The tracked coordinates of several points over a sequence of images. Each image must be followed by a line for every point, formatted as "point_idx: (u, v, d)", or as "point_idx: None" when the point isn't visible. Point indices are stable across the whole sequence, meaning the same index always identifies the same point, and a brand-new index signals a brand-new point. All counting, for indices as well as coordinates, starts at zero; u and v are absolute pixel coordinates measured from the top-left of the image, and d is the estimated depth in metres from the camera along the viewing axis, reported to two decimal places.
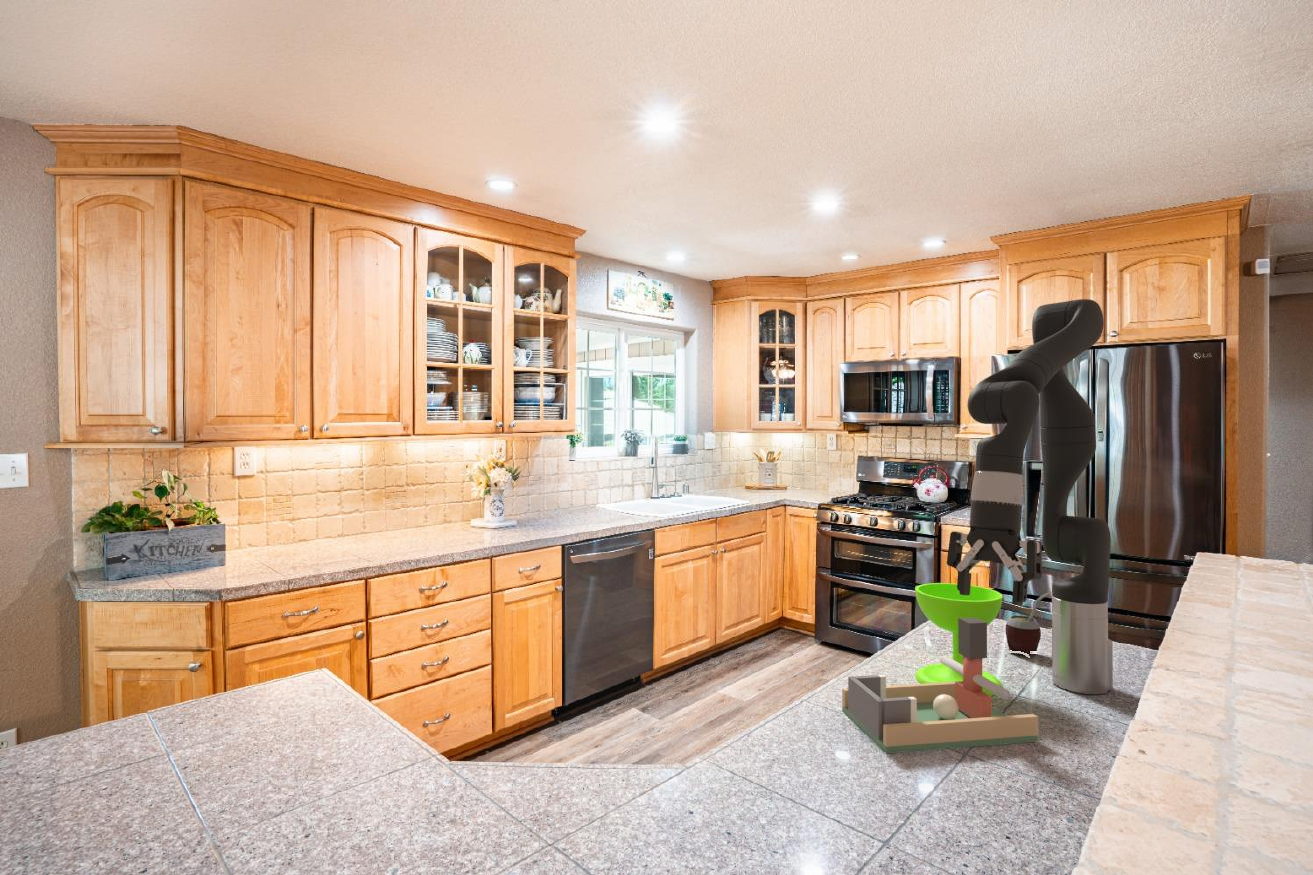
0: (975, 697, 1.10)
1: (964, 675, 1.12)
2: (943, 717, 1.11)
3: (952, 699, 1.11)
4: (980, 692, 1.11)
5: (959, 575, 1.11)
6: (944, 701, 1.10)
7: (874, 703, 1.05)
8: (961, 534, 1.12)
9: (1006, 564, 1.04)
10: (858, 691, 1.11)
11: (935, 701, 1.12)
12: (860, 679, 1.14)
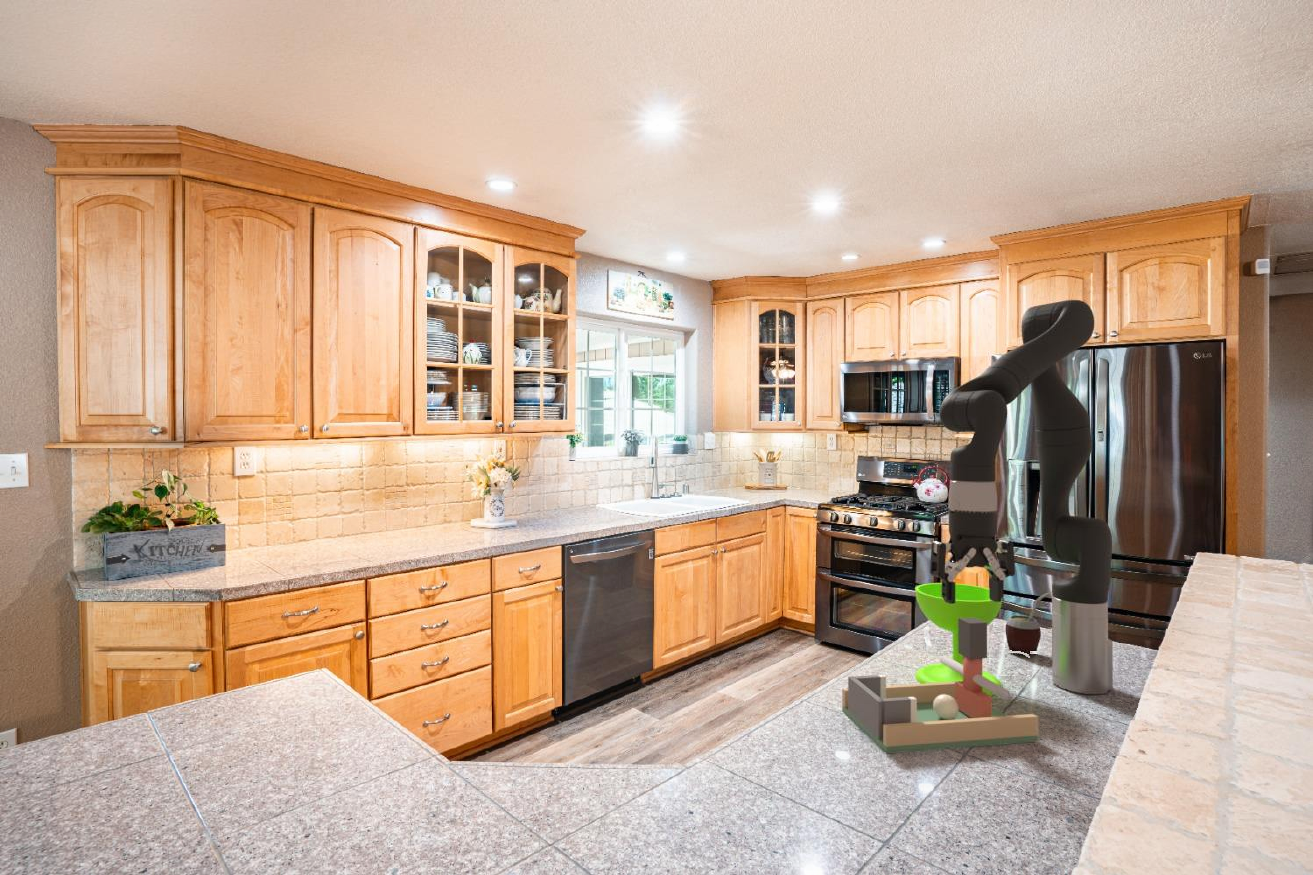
0: (975, 697, 1.10)
1: (964, 675, 1.12)
2: (943, 717, 1.11)
3: (952, 699, 1.11)
4: (980, 692, 1.11)
5: (947, 585, 1.11)
6: (944, 701, 1.10)
7: (874, 703, 1.05)
8: None
9: (994, 567, 1.11)
10: (858, 691, 1.11)
11: (935, 701, 1.12)
12: (860, 679, 1.14)
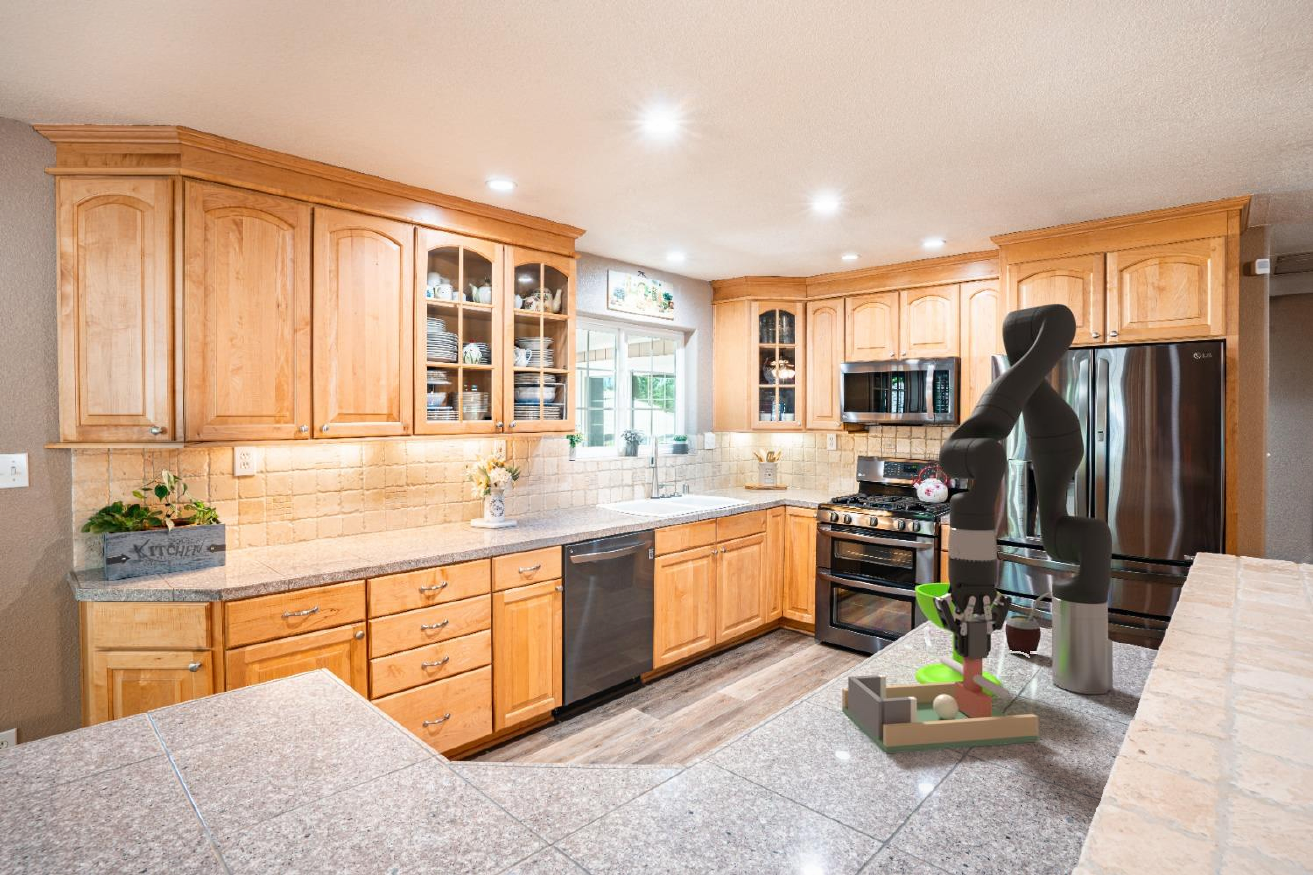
0: (975, 697, 1.10)
1: (964, 675, 1.12)
2: (943, 717, 1.11)
3: (952, 699, 1.11)
4: (980, 692, 1.11)
5: (960, 638, 1.11)
6: (944, 701, 1.10)
7: (874, 703, 1.05)
8: (945, 598, 1.11)
9: (987, 618, 1.11)
10: (858, 691, 1.11)
11: (935, 701, 1.12)
12: (860, 679, 1.14)
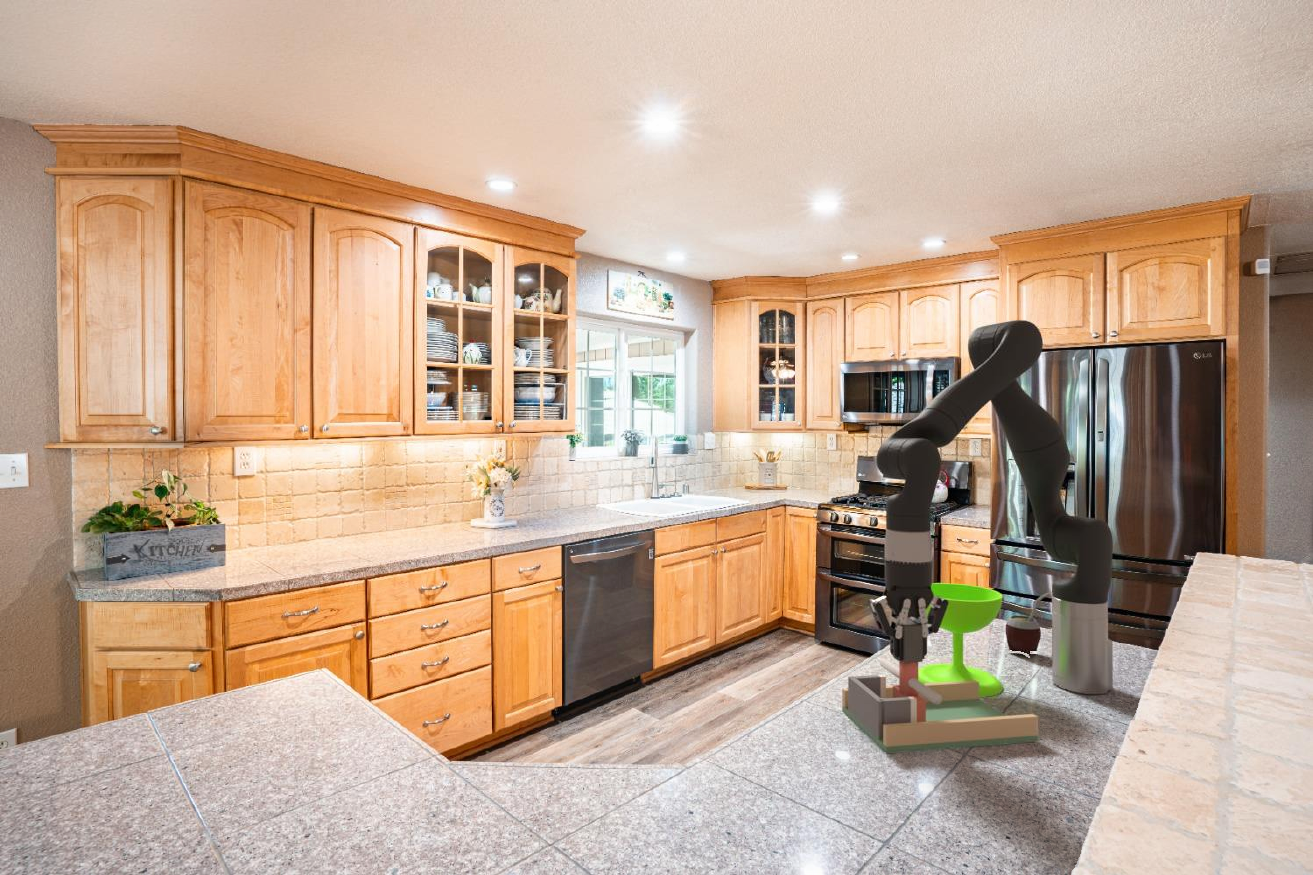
0: None
1: (900, 679, 1.11)
2: None
3: None
4: (915, 697, 1.09)
5: (895, 642, 1.10)
6: None
7: (874, 703, 1.05)
8: (880, 600, 1.10)
9: (922, 621, 1.09)
10: (858, 691, 1.11)
11: None
12: (860, 679, 1.14)
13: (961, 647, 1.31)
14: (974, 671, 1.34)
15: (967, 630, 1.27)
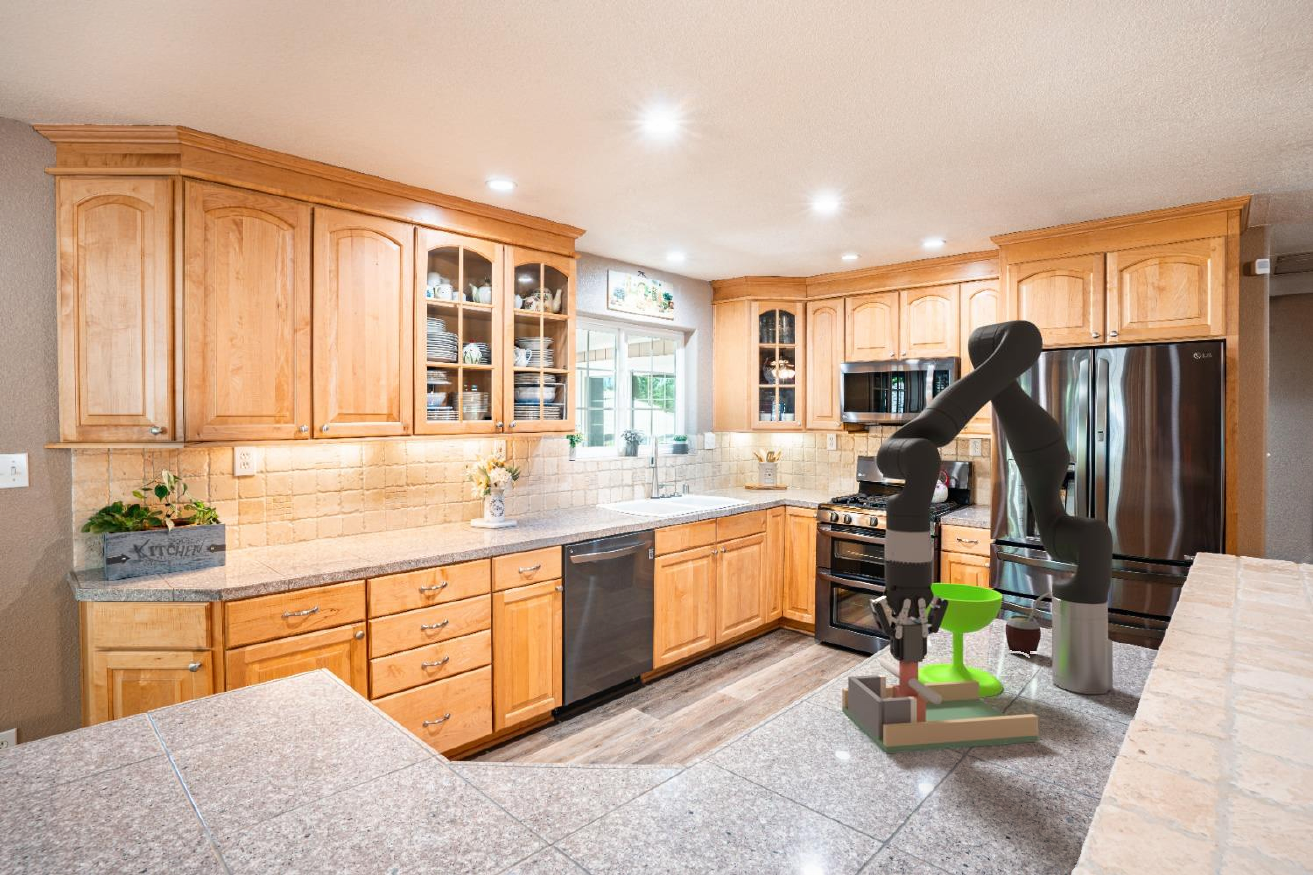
0: None
1: (900, 679, 1.11)
2: None
3: None
4: (915, 697, 1.09)
5: (895, 642, 1.10)
6: None
7: (874, 703, 1.05)
8: (880, 600, 1.10)
9: (922, 621, 1.09)
10: (858, 691, 1.11)
11: None
12: (860, 679, 1.14)
13: (961, 647, 1.31)
14: (974, 671, 1.34)
15: (967, 630, 1.27)
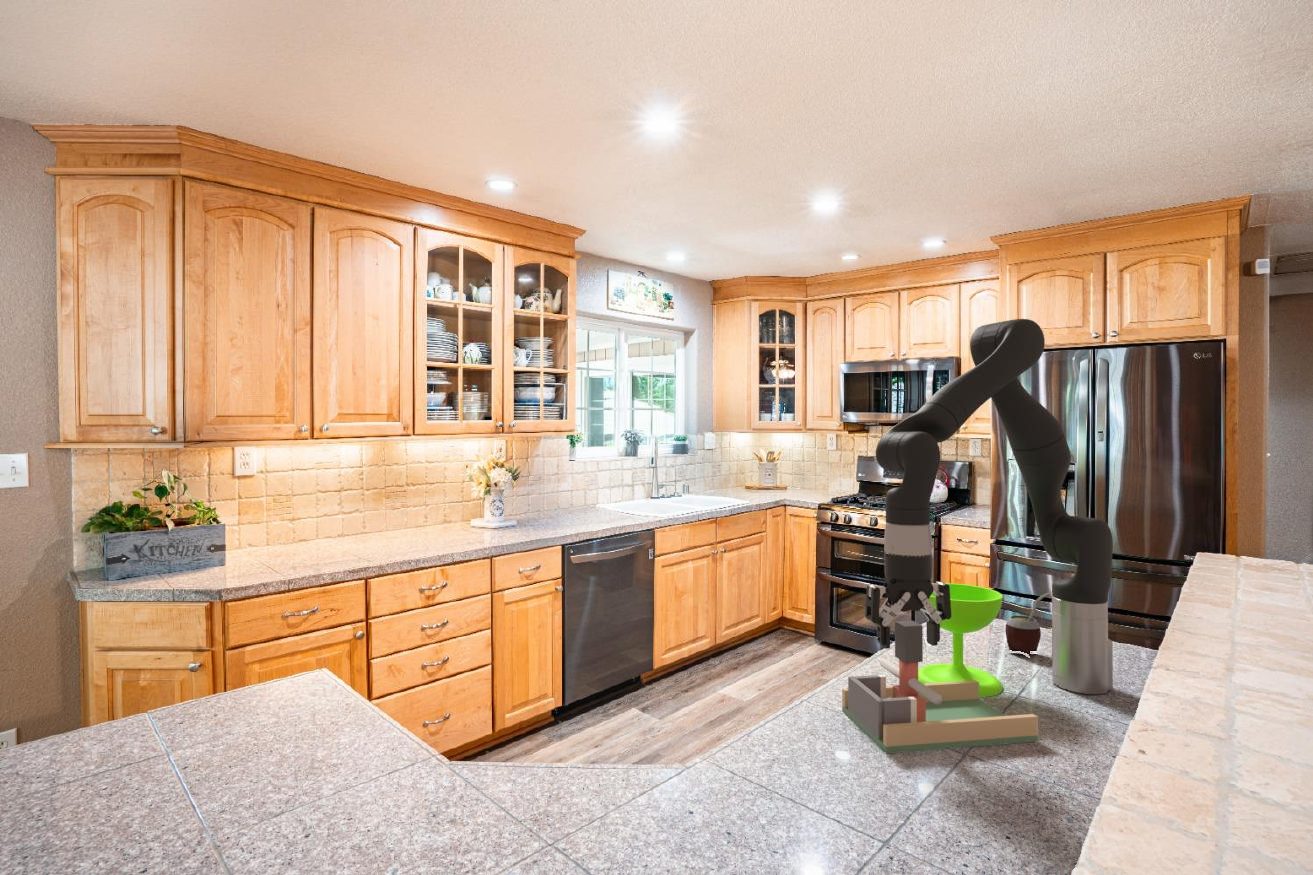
0: None
1: (900, 679, 1.11)
2: None
3: None
4: (915, 697, 1.09)
5: (882, 630, 1.09)
6: None
7: (874, 703, 1.05)
8: (880, 588, 1.10)
9: (930, 611, 1.10)
10: (858, 691, 1.11)
11: None
12: (860, 679, 1.14)
13: (961, 647, 1.31)
14: (974, 671, 1.34)
15: (967, 630, 1.27)
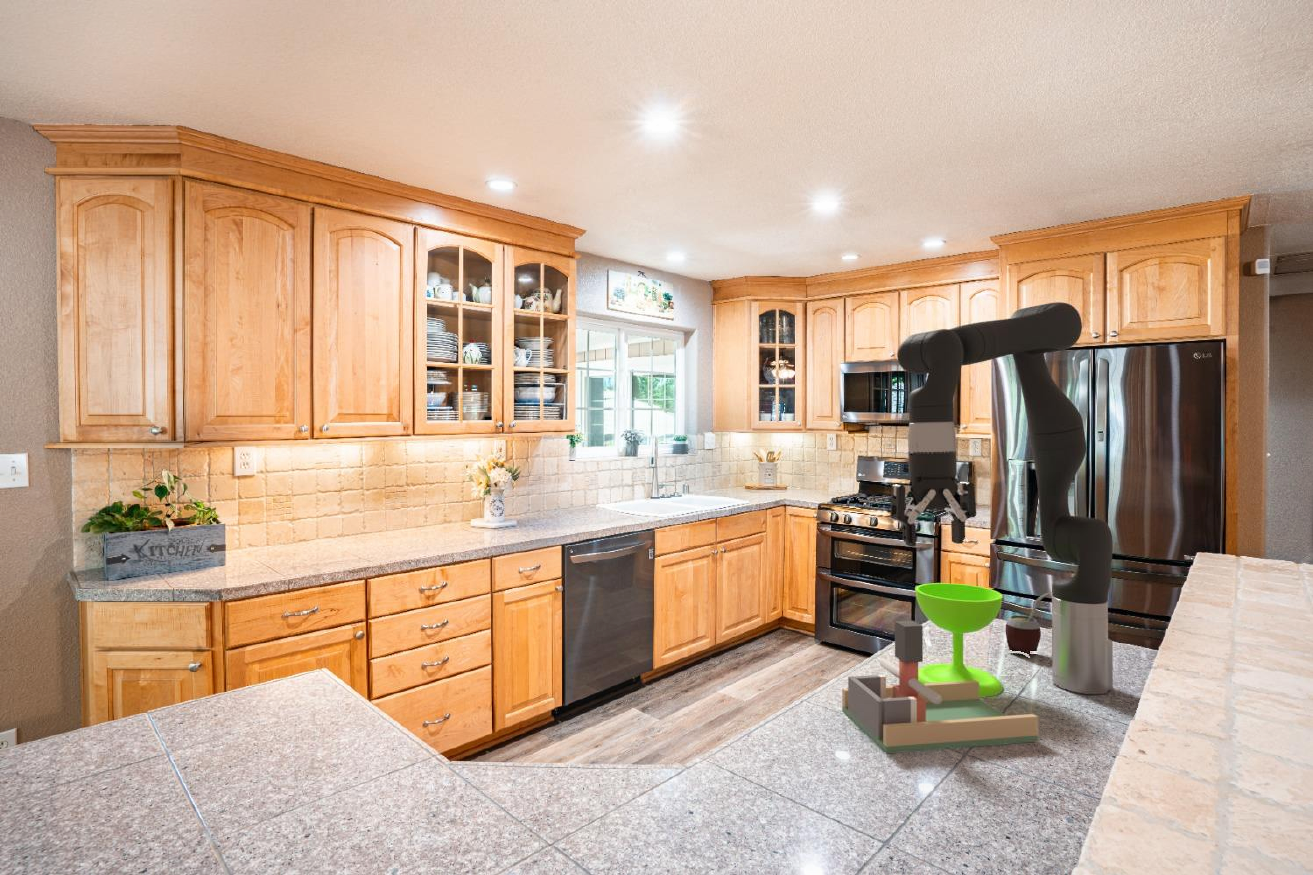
0: None
1: (900, 679, 1.11)
2: None
3: None
4: (915, 697, 1.09)
5: (908, 528, 1.10)
6: None
7: (874, 703, 1.05)
8: (905, 487, 1.10)
9: (955, 508, 1.10)
10: (858, 691, 1.11)
11: None
12: (860, 679, 1.14)
13: (961, 647, 1.31)
14: (974, 671, 1.34)
15: (967, 630, 1.27)
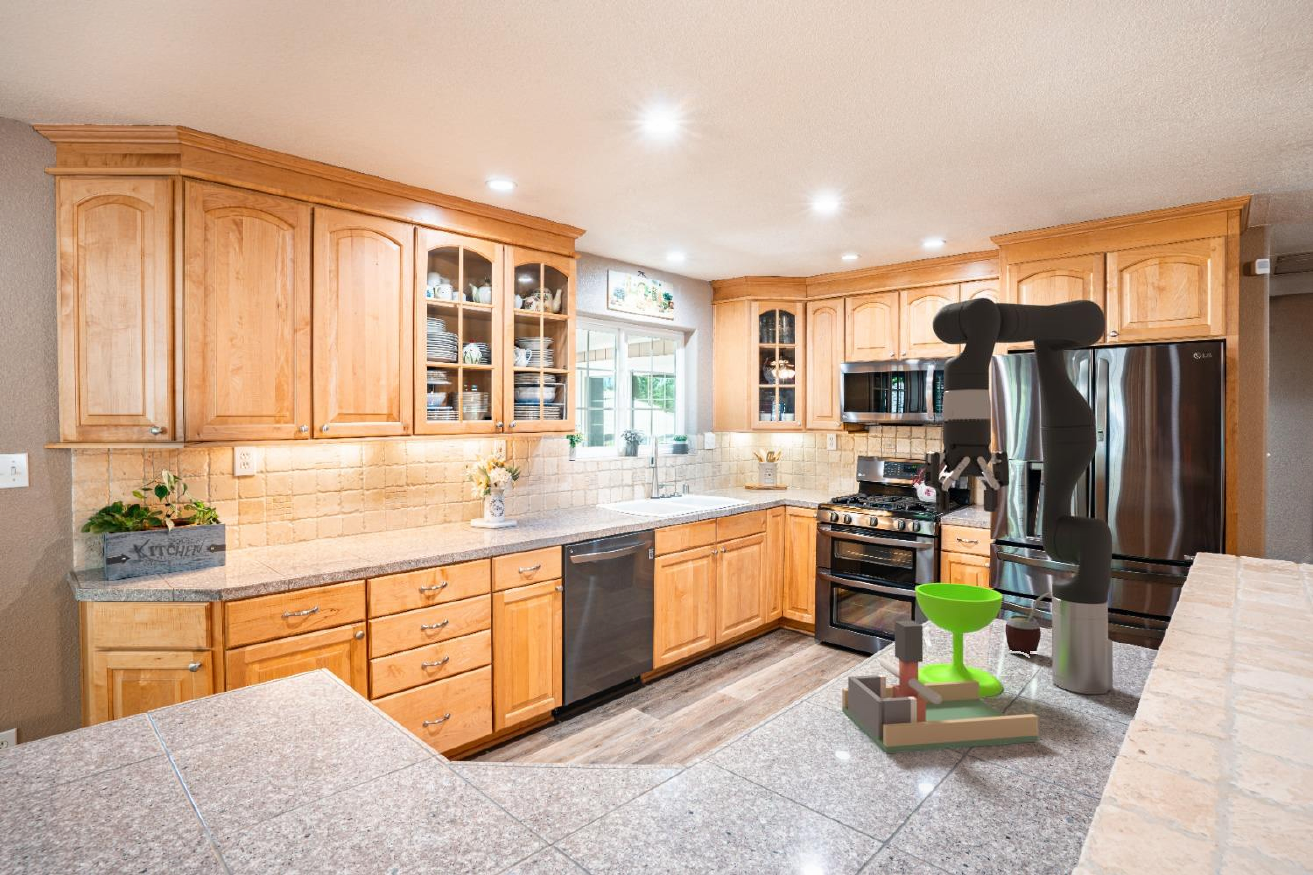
0: None
1: (900, 679, 1.11)
2: None
3: None
4: (915, 697, 1.09)
5: (942, 494, 1.11)
6: None
7: (874, 703, 1.05)
8: None
9: (989, 476, 1.11)
10: (858, 691, 1.11)
11: None
12: (860, 679, 1.14)
13: (961, 647, 1.31)
14: (974, 671, 1.34)
15: (967, 630, 1.27)
